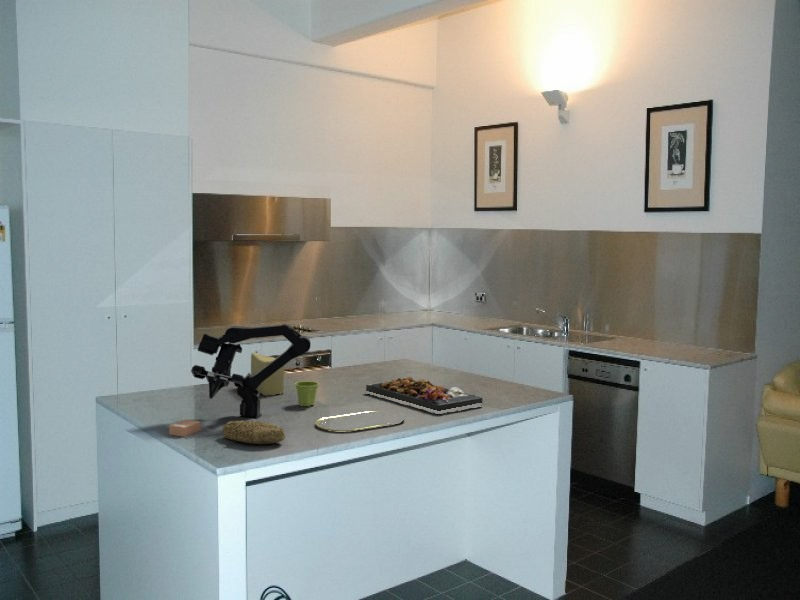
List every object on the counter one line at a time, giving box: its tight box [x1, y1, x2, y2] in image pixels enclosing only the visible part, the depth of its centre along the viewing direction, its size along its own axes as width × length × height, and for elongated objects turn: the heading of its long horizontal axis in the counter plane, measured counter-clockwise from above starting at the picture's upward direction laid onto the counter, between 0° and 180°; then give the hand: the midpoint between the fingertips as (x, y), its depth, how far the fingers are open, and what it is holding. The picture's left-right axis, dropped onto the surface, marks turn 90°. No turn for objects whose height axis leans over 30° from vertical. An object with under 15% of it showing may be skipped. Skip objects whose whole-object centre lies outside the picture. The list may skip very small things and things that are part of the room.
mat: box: [165, 424, 220, 440], centre depth 249 cm, size 16×12×1 cm
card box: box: [168, 419, 202, 438], centre depth 246 cm, size 3×6×9 cm
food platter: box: [365, 376, 483, 411], centre depth 308 cm, size 45×25×10 cm, turn 41°
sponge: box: [221, 419, 286, 445], centre depth 240 cm, size 13×8×20 cm
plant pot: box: [294, 380, 320, 407], centre depth 293 cm, size 9×9×9 cm
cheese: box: [250, 352, 285, 396], centre depth 317 cm, size 22×10×15 cm, turn 35°
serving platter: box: [315, 410, 388, 431], centre depth 268 cm, size 19×35×2 cm, turn 126°
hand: (210, 398), depth 260 cm, fingers closed
